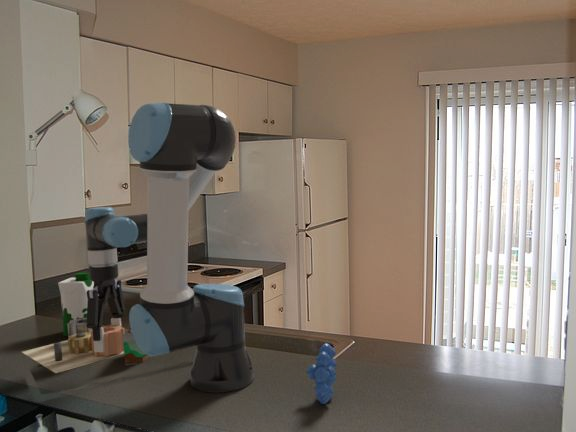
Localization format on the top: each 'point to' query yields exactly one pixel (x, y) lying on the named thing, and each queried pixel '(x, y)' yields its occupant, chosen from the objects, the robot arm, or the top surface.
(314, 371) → the grapes
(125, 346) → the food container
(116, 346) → the planet gear
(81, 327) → the seated gear
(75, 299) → the milk carton
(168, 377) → the top surface
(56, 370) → the carrier
